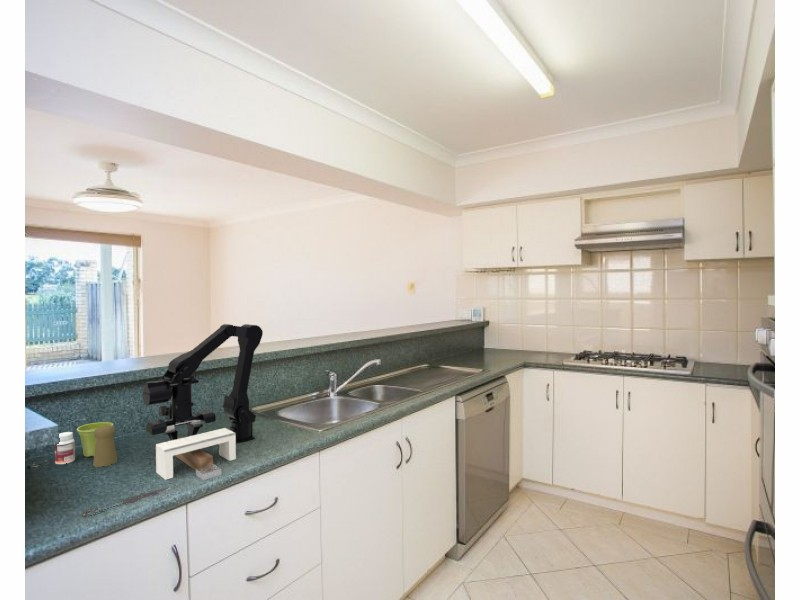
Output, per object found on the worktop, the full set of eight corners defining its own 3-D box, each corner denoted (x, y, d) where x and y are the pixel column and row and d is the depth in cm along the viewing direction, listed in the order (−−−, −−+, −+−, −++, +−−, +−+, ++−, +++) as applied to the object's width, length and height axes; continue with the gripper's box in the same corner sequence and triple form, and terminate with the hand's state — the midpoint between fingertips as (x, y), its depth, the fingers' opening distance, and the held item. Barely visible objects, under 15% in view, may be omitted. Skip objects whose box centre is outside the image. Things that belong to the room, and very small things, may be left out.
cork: (113, 457, 136) (112, 422, 136) (120, 462, 132) (119, 425, 132) (90, 463, 131) (89, 426, 131) (97, 468, 128) (96, 431, 127)
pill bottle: (58, 459, 134) (57, 432, 134) (77, 457, 136) (76, 430, 136) (52, 465, 130) (51, 437, 130) (71, 463, 131) (71, 435, 131)
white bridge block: (225, 453, 139) (224, 427, 139) (235, 458, 135) (235, 432, 134) (156, 472, 125) (155, 444, 125) (165, 479, 120) (164, 450, 120)
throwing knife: (79, 513, 103) (79, 511, 103) (170, 485, 117) (170, 483, 117) (84, 520, 100) (84, 518, 100) (177, 490, 114) (177, 488, 114)
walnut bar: (180, 449, 143) (180, 437, 143) (212, 470, 127) (212, 456, 127) (168, 452, 141) (168, 439, 141) (200, 473, 124) (200, 459, 124)
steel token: (213, 470, 127) (213, 463, 127) (221, 475, 124) (221, 468, 123) (195, 476, 123) (195, 469, 123) (203, 481, 120) (203, 474, 120)
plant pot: (104, 446, 146) (103, 420, 146) (119, 451, 141) (119, 424, 141) (71, 455, 138) (71, 427, 138) (86, 461, 133) (85, 433, 133)
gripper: (201, 390, 149) (202, 435, 150) (139, 400, 136) (140, 450, 136) (216, 395, 142) (216, 443, 142) (152, 407, 128) (153, 460, 128)
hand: (182, 449), depth 137 cm, fingers closed on walnut bar, 3 cm apart
